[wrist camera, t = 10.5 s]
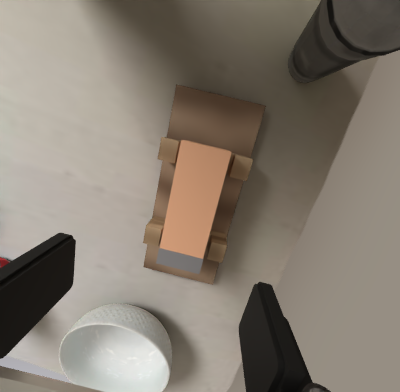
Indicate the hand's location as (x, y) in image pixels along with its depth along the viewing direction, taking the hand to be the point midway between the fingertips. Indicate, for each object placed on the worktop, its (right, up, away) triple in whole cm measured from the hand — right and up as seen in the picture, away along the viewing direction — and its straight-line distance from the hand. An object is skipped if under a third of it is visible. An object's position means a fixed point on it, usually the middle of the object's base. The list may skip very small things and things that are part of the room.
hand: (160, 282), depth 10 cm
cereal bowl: (-10, -19, +26) cm, 34 cm away
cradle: (+2, +5, +19) cm, 19 cm away
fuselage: (+1, +4, +16) cm, 16 cm away
